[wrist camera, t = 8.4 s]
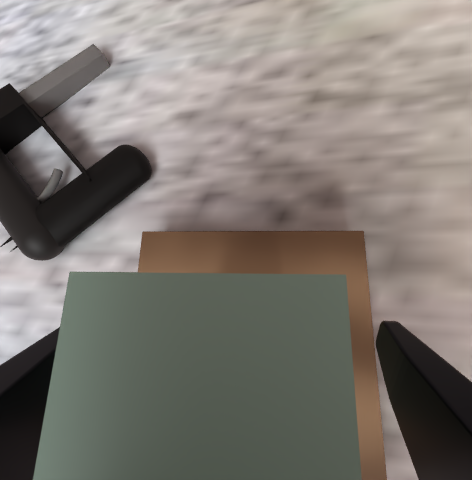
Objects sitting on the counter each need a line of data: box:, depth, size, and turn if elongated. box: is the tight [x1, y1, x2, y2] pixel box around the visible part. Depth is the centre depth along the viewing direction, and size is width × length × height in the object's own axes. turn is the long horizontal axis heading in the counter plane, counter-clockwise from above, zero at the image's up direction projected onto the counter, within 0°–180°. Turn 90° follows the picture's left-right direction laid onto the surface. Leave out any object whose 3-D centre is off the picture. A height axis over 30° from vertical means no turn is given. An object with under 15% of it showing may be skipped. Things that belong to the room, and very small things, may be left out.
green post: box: [33, 272, 362, 480], centre depth 10 cm, size 4×4×13 cm
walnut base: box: [138, 231, 387, 480], centre depth 18 cm, size 14×14×3 cm
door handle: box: [0, 44, 151, 260], centre depth 25 cm, size 3×20×16 cm
